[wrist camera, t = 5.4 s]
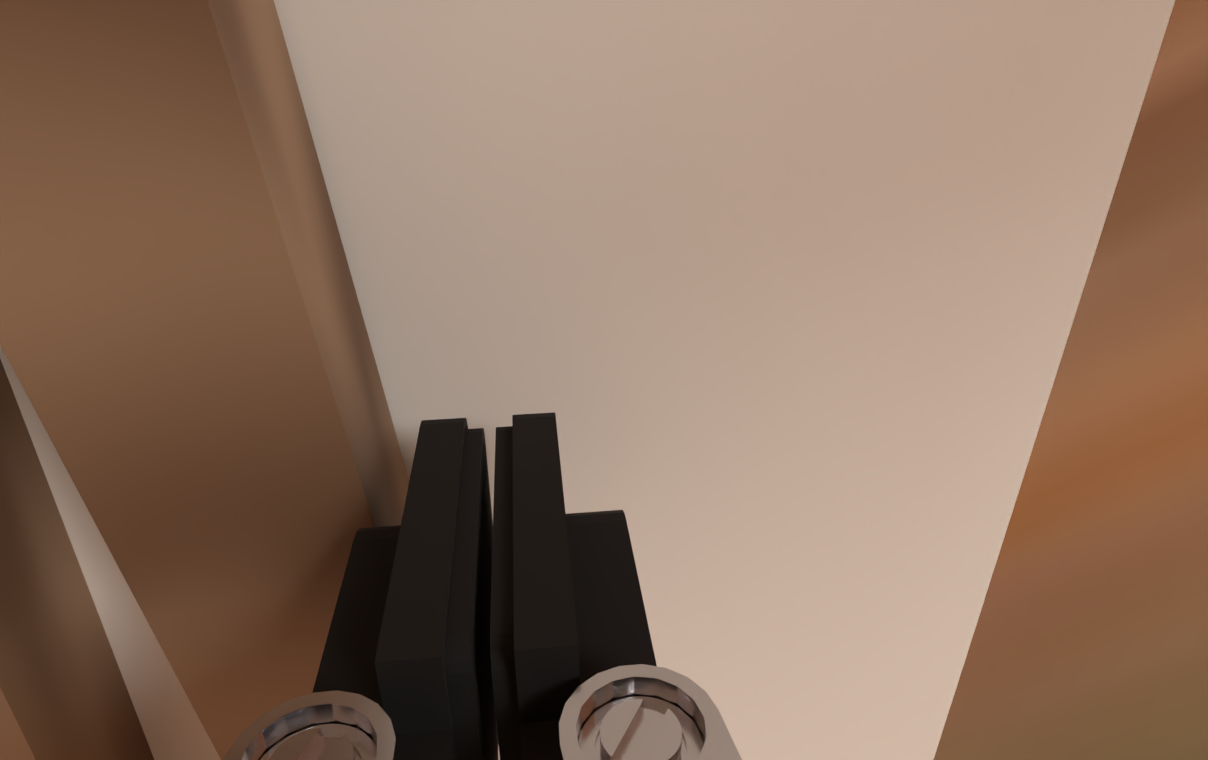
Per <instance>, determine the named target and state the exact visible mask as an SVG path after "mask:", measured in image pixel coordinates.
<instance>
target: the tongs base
mask: <svg viewBox="0 0 1208 760" xmlns="http://www.w3.org/2000/svg"><path fill="white" fill-rule="evenodd" d="M0 760H154V758H153V755H152V752H151V750H150V747H149V745H148V742H147V739H146V737H145V734H144V732H143V729H142V726H141V724H140V721H139V718H138V716H137V713H136V711H135V708H134V705H133V703H132V700H131V698H130V695H129V692H128V690H127V687H126V685H125V682H124V679H123V677H122V674H121V672H120V669H119V666H118V664H117V661H116V659H115V656H114V653H113V651H112V648H111V646H110V643H109V640H108V638H107V635H106V633H105V630H104V627H103V625H102V622H101V619H100V617H99V614H98V612H97V609H96V606H95V604H94V601H93V599H92V596H91V593H90V591H89V588H88V586H87V583H86V580H85V578H84V575H83V573H82V570H81V567H80V565H79V562H78V560H77V557H76V554H75V552H74V549H73V547H72V544H71V541H70V539H69V536H68V534H67V531H66V528H65V526H64V523H63V520H62V518H61V515H60V513H59V510H58V507H57V505H56V502H55V500H54V497H53V494H52V492H51V489H50V487H49V484H48V481H47V479H46V476H45V474H44V471H43V468H42V466H41V463H40V461H39V458H38V455H37V453H36V450H35V448H34V445H33V442H32V440H31V437H30V434H29V432H28V429H27V427H26V424H25V421H24V419H23V416H22V414H21V411H20V408H19V406H18V403H17V401H16V398H15V395H14V393H13V390H12V388H11V385H10V382H9V380H8V377H7V375H6V372H5V369H4V367H3V364H2V362H1V359H0Z"/></svg>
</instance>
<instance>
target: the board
mask: <svg viewBox="0 0 1208 760" xmlns="http://www.w3.org/2000/svg"><path fill="white" fill-rule="evenodd" d="M274 3H275V7H276V10H277V14H278V17H279V21H280V24H281V28H282V32H283V35H284V39H285V42H286V46H287V49H288V53H289V56H290V60H291V63H292V67H293V71H294V74H295V78H296V81H297V85H298V88H299V92H300V95H301V99H302V102H303V106H304V110H305V113H306V117H307V120H308V124H309V127H310V131H311V134H312V138H313V141H314V145H315V149H316V152H317V156H318V159H319V163H320V166H321V170H322V173H323V177H324V180H325V184H326V188H327V191H328V195H329V198H330V202H331V205H332V209H333V212H334V216H335V219H336V223H337V227H338V230H339V234H340V237H341V241H342V244H343V248H344V251H345V255H346V258H347V262H348V266H349V269H350V273H351V276H352V280H353V283H354V287H355V290H356V294H357V297H358V301H359V305H360V308H361V312H362V315H363V319H364V322H365V326H366V329H367V333H368V336H369V340H370V344H371V347H372V351H373V354H374V358H375V361H376V365H377V368H378V372H379V375H380V379H381V383H382V386H383V390H384V393H385V397H386V400H387V404H388V407H389V411H390V414H391V418H392V422H393V425H394V429H395V432H396V436H397V439H398V443H399V446H400V450H401V454H402V457H403V461H404V464H405V468H406V471H407V475H408V478H409V480H410V475H411V470H412V465H413V459H414V454H415V449H416V444H417V439H418V434H419V428H420V424H421V421H422V420H436V419H453V418H466V419H467V424H468V429H476V428H484V433H485V442H486V453H487V465H488V476H489V487H490V498H491V509H492V520H493V507H494V472H495V437H496V427H507V426H512V415H519V414H535V413H552V412H555V415H556V425H557V435H558V445H559V454H560V464H561V474H562V484H563V494H564V504H565V513H566V514H569V513H583V512H598V511H612V510H623V511H624V513H625V517H626V521H627V526H628V531H629V536H630V540H631V545H632V550H633V555H634V559H635V564H636V569H637V574H638V579H639V583H640V588H641V593H642V598H643V603H644V607H645V612H646V617H647V622H648V626H649V631H650V636H651V641H652V646H653V650H654V655H655V660H656V665H657V666H658V667H664V668H668V669H670V670H672V671H675V672H677V673H679V674H682V675H684V676H686V677H688V678H690V679H691V680H692V681H693V682H695V683H696V684H697V685H698V686H700V687H701V688H702V689H703V690H705V691H706V692H707V694H708V695H709V697H710V698H711V700H712V701H713V703H714V704H715V705H716V707H717V708H718V710H719V712H720V714H721V716H722V718H723V720H724V723H725V725H726V727H727V729H728V731H729V733H730V735H731V737H732V740H733V742H734V744H735V746H736V748H737V750H738V752H739V754H740V757H741V759H742V760H933V759H934V756H935V753H936V750H937V747H938V744H939V740H940V737H941V734H942V731H943V728H944V725H945V722H946V718H947V715H948V712H949V709H950V706H951V703H952V700H953V696H954V693H955V690H956V687H957V684H958V681H959V678H960V675H961V671H962V668H963V665H964V662H965V659H966V656H967V653H968V649H969V646H970V643H971V640H972V637H973V634H974V631H975V627H976V624H977V621H978V618H979V615H980V612H981V609H982V605H983V602H984V599H985V596H986V593H987V590H988V587H989V583H990V580H991V577H992V574H993V571H994V568H995V565H996V562H997V558H998V555H999V552H1000V549H1001V546H1002V543H1003V540H1004V536H1005V533H1006V530H1007V527H1008V524H1009V521H1010V518H1011V514H1012V511H1013V508H1014V505H1015V502H1016V499H1017V496H1018V492H1019V489H1020V486H1021V483H1022V480H1023V477H1024V474H1025V470H1026V467H1027V464H1028V461H1029V458H1030V455H1031V452H1032V449H1033V445H1034V442H1035V439H1036V436H1037V433H1038V430H1039V427H1040V423H1041V420H1042V417H1043V414H1044V411H1045V408H1046V405H1047V401H1048V398H1049V395H1050V392H1051V389H1052V386H1053V383H1054V379H1055V376H1056V373H1057V370H1058V367H1059V364H1060V361H1061V357H1062V354H1063V351H1064V348H1065V345H1066V342H1067V339H1068V336H1069V332H1070V329H1071V326H1072V323H1073V320H1074V317H1075V314H1076V310H1077V307H1078V304H1079V301H1080V298H1081V295H1082V292H1083V288H1084V285H1085V282H1086V279H1087V276H1088V273H1089V270H1090V266H1091V263H1092V260H1093V257H1094V254H1095V251H1096V248H1097V244H1098V241H1099V238H1100V235H1101V232H1102V229H1103V226H1104V223H1105V219H1106V216H1107V213H1108V210H1109V207H1110V204H1111V201H1112V197H1113V194H1114V191H1115V188H1116V185H1117V182H1118V179H1119V175H1120V172H1121V169H1122V166H1123V163H1124V160H1125V157H1126V153H1127V150H1128V147H1129V144H1130V141H1131V138H1132V135H1133V132H1134V128H1135V125H1136V122H1137V119H1138V116H1139V113H1140V110H1141V106H1142V103H1143V100H1144V97H1145V94H1146V91H1147V88H1148V84H1149V81H1150V78H1151V75H1152V72H1153V69H1154V66H1155V62H1156V59H1157V56H1158V53H1159V50H1160V47H1161V44H1162V40H1163V37H1164V34H1165V31H1166V28H1167V25H1168V22H1169V19H1170V15H1171V12H1172V9H1173V6H1174V3H1175V0H274ZM0 359H1V362H2V364H3V367H4V369H5V372H6V375H7V377H8V380H9V382H10V385H11V388H12V390H13V393H14V395H15V398H16V401H17V403H18V406H19V408H20V411H21V414H22V416H23V419H24V421H25V424H26V427H27V429H28V432H29V434H30V437H31V440H32V442H33V445H34V448H35V450H36V453H37V455H38V458H39V461H40V463H41V466H42V468H43V471H44V474H45V476H46V479H47V481H48V484H49V487H50V489H51V492H52V494H53V497H54V500H55V502H56V505H57V507H58V510H59V513H60V515H61V518H62V520H63V523H64V526H65V528H66V531H67V534H68V536H69V539H70V541H71V544H72V547H73V549H74V552H75V554H76V557H77V560H78V562H79V565H80V567H81V570H82V573H83V575H84V578H85V580H86V583H87V586H88V588H89V591H90V593H91V596H92V599H93V601H94V604H95V606H96V609H97V612H98V614H99V617H100V619H101V622H102V625H103V627H104V630H105V633H106V635H107V638H108V640H109V643H110V646H111V648H112V651H113V653H114V656H115V659H116V661H117V664H118V666H119V669H120V672H121V674H122V677H123V679H124V682H125V685H126V687H127V690H128V692H129V695H130V698H131V700H132V703H133V705H134V708H135V711H136V713H137V716H138V718H139V721H140V724H141V726H142V729H143V732H144V734H145V737H146V739H147V742H148V745H149V747H150V750H151V752H152V755H153V758H154V760H221V759H220V757H219V755H218V753H217V751H216V749H215V748H214V746H213V744H212V742H211V740H210V738H209V736H208V734H207V732H206V731H205V729H204V727H203V725H202V723H201V721H200V719H199V717H198V716H197V714H196V712H195V710H194V708H193V706H192V704H191V702H190V701H189V699H188V697H187V695H186V693H185V691H184V689H183V687H182V686H181V684H180V682H179V680H178V678H177V676H176V674H175V672H174V670H173V669H172V667H171V665H170V663H169V661H168V659H167V657H166V655H165V654H164V652H163V650H162V648H161V646H160V644H159V642H158V640H157V639H156V637H155V635H154V633H153V631H152V629H151V627H150V625H149V623H148V622H147V620H146V618H145V616H144V614H143V612H142V610H141V608H140V607H139V605H138V603H137V601H136V599H135V597H134V595H133V593H132V592H131V590H130V588H129V586H128V584H127V582H126V580H125V578H124V576H123V575H122V573H121V571H120V569H119V567H118V565H117V563H116V561H115V560H114V558H113V556H112V554H111V552H110V550H109V548H108V546H107V545H106V543H105V541H104V539H103V537H102V535H101V533H100V531H99V530H98V528H97V526H96V524H95V522H94V520H93V518H92V516H91V514H90V513H89V511H88V509H87V507H86V505H85V503H84V501H83V499H82V498H81V496H80V494H79V492H78V490H77V488H76V486H75V484H74V483H73V481H72V479H71V477H70V475H69V473H68V471H67V469H66V467H65V466H64V464H63V462H62V460H61V458H60V456H59V454H58V452H57V451H56V449H55V447H54V445H53V443H52V441H51V439H50V437H49V436H48V434H47V432H46V430H45V428H44V426H43V424H42V422H41V420H40V419H39V417H38V415H37V413H36V411H35V409H34V407H33V405H32V404H31V402H30V400H29V398H28V396H27V394H26V392H25V390H24V389H23V387H22V385H21V383H20V381H19V379H18V377H17V375H16V373H15V372H14V370H13V368H12V366H11V364H10V362H9V360H8V358H7V357H6V355H5V353H4V351H3V349H2V347H1V345H0ZM498 760H500V754H499V744H498Z"/></svg>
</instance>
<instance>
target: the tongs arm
mask: <svg viewBox="0 0 1208 760" xmlns="http://www.w3.org/2000/svg"><path fill="white" fill-rule="evenodd" d="M0 345H1V347H2V349H3V351H4V353H5V355H6V357H7V358H8V360H9V362H10V364H11V366H12V368H13V370H14V372H15V373H16V375H17V377H18V379H19V381H20V383H21V385H22V387H23V389H24V390H25V392H26V394H27V396H28V398H29V400H30V402H31V404H32V405H33V407H34V409H35V411H36V413H37V415H38V417H39V419H40V420H41V422H42V424H43V426H44V428H45V430H46V432H47V434H48V436H49V437H50V439H51V441H52V443H53V445H54V447H55V449H56V451H57V452H58V454H59V456H60V458H61V460H62V462H63V464H64V466H65V467H66V469H67V471H68V473H69V475H70V477H71V479H72V481H73V483H74V484H75V486H76V488H77V490H78V492H79V494H80V496H81V498H82V499H83V501H84V503H85V505H86V507H87V509H88V511H89V513H90V514H91V516H92V518H93V520H94V522H95V524H96V526H97V528H98V530H99V531H100V533H101V535H102V537H103V539H104V541H105V543H106V545H107V546H108V548H109V550H110V552H111V554H112V556H113V558H114V560H115V561H116V563H117V565H118V567H119V569H120V571H121V573H122V575H123V576H124V578H125V580H126V582H127V584H128V586H129V588H130V590H131V592H132V593H133V595H134V597H135V599H136V601H137V603H138V605H139V607H140V608H141V610H142V612H143V614H144V616H145V618H146V620H147V622H148V623H149V625H150V627H151V629H152V631H153V633H154V635H155V637H156V639H157V640H158V642H159V644H160V646H161V648H162V650H163V652H164V654H165V655H166V657H167V659H168V661H169V663H170V665H171V667H172V669H173V670H174V672H175V674H176V676H177V678H178V680H179V682H180V684H181V686H182V687H183V689H184V691H185V693H186V695H187V697H188V699H189V701H190V702H191V704H192V706H193V708H194V710H195V712H196V714H197V716H198V717H199V719H200V721H201V723H202V725H203V727H204V729H205V731H206V732H207V734H208V736H209V738H210V740H211V742H212V744H213V746H214V748H215V749H216V751H217V753H218V755H219V757H220V759H221V760H223V758H224V756H225V754H226V753H227V752H228V750H229V749H230V747H231V746H232V745H233V743H234V742H235V740H236V739H237V738H238V736H239V735H240V733H241V732H243V731H244V730H245V729H246V728H247V727H248V726H249V725H251V724H252V723H253V722H254V721H255V720H256V719H257V718H259V717H260V716H261V715H262V714H264V713H266V712H268V711H269V710H271V709H273V708H275V707H276V706H278V705H280V704H282V703H284V702H285V701H288V700H291V699H294V698H297V697H300V696H303V695H306V694H310V693H312V692H313V688H314V684H315V681H316V677H317V673H318V670H319V666H320V662H321V658H322V655H323V651H324V647H325V644H326V640H327V636H328V632H329V629H330V625H331V621H332V618H333V614H334V610H335V606H336V603H337V599H338V595H339V592H340V588H341V584H342V581H343V577H344V573H345V569H346V566H347V562H348V558H349V555H350V551H351V547H352V543H353V540H354V537H355V535H356V532H357V531H358V530H359V529H360V528H371V527H385V526H399V525H401V522H402V516H403V511H404V506H405V501H406V496H407V491H408V485H409V478H408V475H407V471H406V468H405V464H404V461H403V457H402V454H401V450H400V446H399V443H398V439H397V436H396V432H395V429H394V425H393V422H392V418H391V414H390V411H389V407H388V404H387V400H386V397H385V393H384V390H383V386H382V383H381V379H380V375H379V372H378V368H377V365H376V361H375V358H374V354H373V351H372V347H371V344H370V340H369V336H368V333H367V329H366V326H365V322H364V319H363V315H362V312H361V308H360V305H359V301H358V297H357V294H356V290H355V287H354V283H353V280H352V276H351V273H350V269H349V266H348V262H347V258H346V255H345V251H344V248H343V244H342V241H341V237H340V234H339V230H338V227H337V223H336V219H335V216H334V212H333V209H332V205H331V202H330V198H329V195H328V191H327V188H326V184H325V180H324V177H323V173H322V170H321V166H320V163H319V159H318V156H317V152H316V149H315V145H314V141H313V138H312V134H311V131H310V127H309V124H308V120H307V117H306V113H305V110H304V106H303V102H302V99H301V95H300V92H299V88H298V85H297V81H296V78H295V74H294V71H293V67H292V63H291V60H290V56H289V53H288V49H287V46H286V42H285V39H284V35H283V32H282V28H281V24H280V21H279V17H278V14H277V10H276V7H275V3H274V0H0Z"/></svg>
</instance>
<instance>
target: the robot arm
mask: <svg viewBox="0 0 1208 760" xmlns="http://www.w3.org/2000/svg"><path fill="white" fill-rule="evenodd" d="M498 744H499V754H500V760H742V759H741V757H740V754H739V752H738V750H737V748H736V746H735V744H734V742H733V740H732V737H731V735H730V733H729V731H728V729H727V727H726V725H725V723H724V720H723V718H722V716H721V714H720V712H719V710H718V708H717V707H716V705H715V704H714V703H713V701H712V700H711V698H710V697H709V695H708V694H707V692H706V691H705V690H703V689H702V688H701V687H700V686H698V685H697V684H696V683H695V682H693V681H692V680H691V679H690V678H688V677H686V676H684V675H682V674H679V673H677V672H675V671H672V670H670V669H668V668H664V667H658V666H657V665H656V660H655V655H654V650H653V646H652V641H651V636H650V631H649V626H648V622H647V617H646V612H645V607H644V603H643V598H642V593H641V588H640V583H639V579H638V574H637V569H636V564H635V559H634V555H633V550H632V545H631V540H630V536H629V531H628V526H627V521H626V517H625V513H624V511H623V510H612V511H598V512H583V513H569V514H566V513H565V504H564V494H563V484H562V474H561V464H560V454H559V445H558V435H557V425H556V415H555V412H552V413H535V414H519V415H512V426H507V427H496V437H495V472H494V507H493V520H492V509H491V498H490V487H489V476H488V465H487V453H486V442H485V433H484V428H476V429H468V424H467V419H466V418H453V419H436V420H422V421H421V424H420V428H419V434H418V439H417V444H416V449H415V454H414V459H413V465H412V470H411V475H410V480H409V485H408V491H407V496H406V501H405V506H404V511H403V516H402V522H401V525H399V526H385V527H371V528H360V529H359V530H358V531H357V532H356V535H355V537H354V540H353V543H352V547H351V551H350V555H349V558H348V562H347V566H346V569H345V573H344V577H343V581H342V584H341V588H340V592H339V595H338V599H337V603H336V606H335V610H334V614H333V618H332V621H331V625H330V629H329V632H328V636H327V640H326V644H325V647H324V651H323V655H322V658H321V662H320V666H319V670H318V673H317V677H316V681H315V684H314V688H313V692H312V693H310V694H306V695H303V696H300V697H297V698H294V699H291V700H288V701H285V702H284V703H282V704H280V705H278V706H276V707H275V708H273V709H271V710H269V711H268V712H266V713H264V714H262V715H261V716H260V717H259V718H257V719H256V720H255V721H254V722H253V723H252V724H251V725H249V726H248V727H247V728H246V729H245V730H244V731H243V732H241V733H240V735H239V736H238V738H237V739H236V740H235V742H234V743H233V745H232V746H231V747H230V749H229V750H228V752H227V753H226V754H225V756H224V758H223V760H498Z"/></svg>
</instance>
